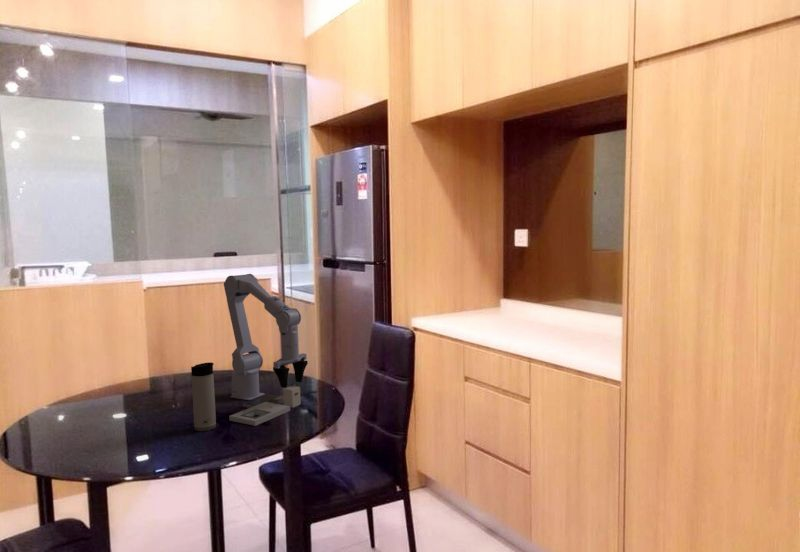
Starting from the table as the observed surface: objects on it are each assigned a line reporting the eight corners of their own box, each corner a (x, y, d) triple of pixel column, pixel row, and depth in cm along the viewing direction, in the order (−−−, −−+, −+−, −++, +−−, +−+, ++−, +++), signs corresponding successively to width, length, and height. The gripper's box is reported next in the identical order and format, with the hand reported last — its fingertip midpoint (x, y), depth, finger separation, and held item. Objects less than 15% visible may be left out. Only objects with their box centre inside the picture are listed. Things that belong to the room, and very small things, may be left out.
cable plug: (265, 412, 185) (265, 405, 185) (260, 411, 186) (259, 404, 186) (286, 403, 194) (286, 396, 194) (281, 402, 195) (281, 395, 195)
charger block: (283, 406, 189) (283, 388, 188) (291, 402, 192) (290, 385, 192) (293, 407, 187) (292, 390, 186) (301, 404, 190) (300, 387, 190)
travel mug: (210, 432, 165) (206, 365, 164) (190, 431, 167) (186, 365, 165) (221, 424, 171) (217, 360, 170) (201, 423, 173) (198, 360, 171)
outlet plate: (229, 420, 175) (229, 415, 175) (265, 406, 189) (265, 401, 189) (255, 425, 170) (255, 420, 169) (290, 410, 183) (290, 405, 183)
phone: (243, 407, 189) (242, 403, 189) (268, 397, 199) (267, 394, 199) (255, 409, 186) (254, 406, 186) (279, 399, 196) (279, 396, 196)
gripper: (284, 350, 180) (286, 391, 181) (312, 342, 192) (314, 380, 193) (267, 348, 183) (269, 389, 184) (296, 340, 196) (298, 378, 197)
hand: (291, 384), depth 189 cm, fingers open, 7 cm apart
